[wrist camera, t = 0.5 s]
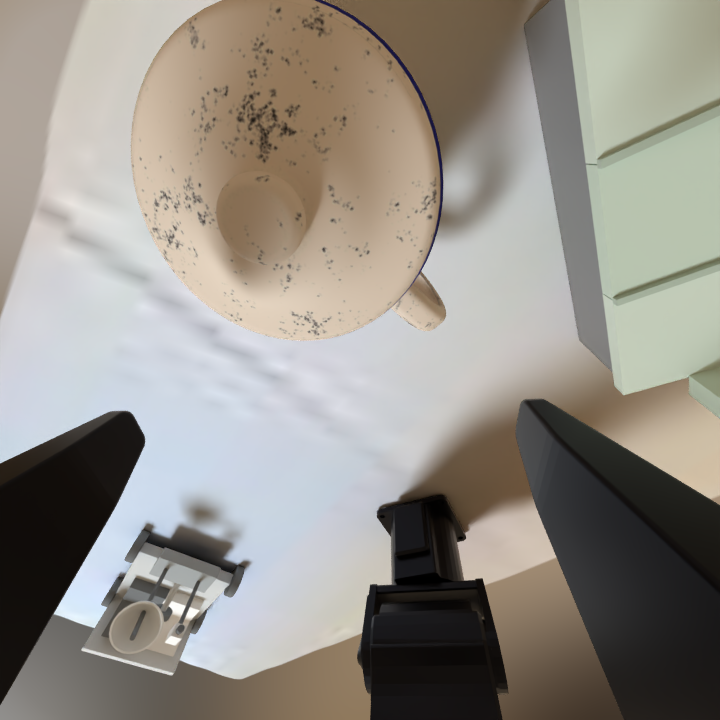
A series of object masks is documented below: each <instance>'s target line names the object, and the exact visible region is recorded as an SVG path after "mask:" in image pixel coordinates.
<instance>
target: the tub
mask: <svg viewBox="0 0 720 720" xmlns="http://www.w3.org/2000/svg"><path fill="white" fill-rule="evenodd" d="M524 29H525V34H526V40H527V46H528V51H529V57H530V63H531V68H532V74H533V80H534V85H535V91H536V97H537V102H538V108H539V114H540V119H541V125H542V131H543V136H544V142H545V148H546V153H547V159H548V165H549V170H550V176H551V182H552V187H553V193H554V199H555V204H556V210H557V216H558V222H559V227H560V233H561V239H562V244H563V250H564V256H565V261H566V267H567V273H568V278H569V284H570V290H571V295H572V301H573V307H574V312H575V318H576V324H577V329H578V335H579V340H580V341H581V342H582V343H583V344H584V345H585V346H586V347H587V348H588V349H589V350H590V351H591V352H592V353H593V354H594V355H595V356H596V357H597V358H598V359H599V360H600V361H601V362H602V363H603V364H604V365H605V366H607V367H608V368H609V369H610V370H611V371H612V363H611V356H610V348H609V340H608V332H607V325H606V317H605V309H604V301H603V293H602V286H601V278H600V270H599V263H598V255H597V247H596V239H595V232H594V224H593V216H592V208H591V201H590V193H589V185H588V177H587V170H586V164H588V163H586V162H585V154H584V146H583V139H582V131H581V123H580V115H579V108H578V100H577V92H576V84H575V77H574V69H573V61H572V53H571V46H570V38H569V30H568V22H567V15H566V7H565V0H550V1H549V2H548V3H547V4H546V5H545V6H544V7H543V8H542V9H541V10H539V11H538V12H537V13H536V14H535V15H534V16H533V17H532V18H531V19H530V20H529V21H527V22H526V23H525V24H524ZM612 372H613V371H612Z"/></svg>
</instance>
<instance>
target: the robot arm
mask: <svg viewBox="0 0 720 720" xmlns="http://www.w3.org/2000/svg"><path fill="white" fill-rule="evenodd" d="M516 439H517V443H518V446H519V450H520V453H521V457H522V460H523V464H524V467H525V471H526V474H527V478H528V481H529V485H530V488H531V492H532V495H533V499H534V502H535V505H536V508H537V510H538V513H539V515H540V518H541V520H542V523H543V525H544V528H545V530H546V533H547V535H548V537H549V540H550V542H551V545H552V547H553V549H554V552H555V554H556V557H557V559H558V561H559V564H560V566H561V569H562V571H563V574H564V576H565V578H566V581H567V583H568V586H569V588H570V590H571V593H572V595H573V598H574V600H575V603H576V605H577V607H578V610H579V612H580V615H581V617H582V620H583V622H584V624H585V627H586V629H587V632H588V634H589V637H590V639H591V641H592V644H593V646H594V649H595V651H596V653H597V656H598V658H599V661H600V663H601V666H602V668H603V670H604V672H605V675H606V677H607V680H608V682H609V685H610V687H611V690H612V692H613V695H614V697H615V699H616V702H617V704H618V707H619V709H620V711H621V714H622V716H623V719H624V720H720V505H719V504H717V503H716V502H714V501H712V500H711V499H709V498H707V497H706V496H704V495H702V494H701V493H699V492H697V491H696V490H694V489H692V488H691V487H689V486H687V485H686V484H684V483H682V482H681V481H679V480H677V479H676V478H674V477H672V476H671V475H669V474H667V473H666V472H664V471H662V470H661V469H659V468H657V467H656V466H654V465H653V464H651V463H649V462H648V461H646V460H644V459H643V458H641V457H639V456H638V455H636V454H634V453H633V452H631V451H629V450H628V449H626V448H624V447H623V446H621V445H619V444H618V443H616V442H614V441H613V440H611V439H609V438H608V437H606V436H604V435H603V434H601V433H599V432H598V431H596V430H594V429H593V428H591V427H589V426H588V425H586V424H584V423H583V422H581V421H579V420H578V419H576V418H574V417H573V416H571V415H569V414H568V413H566V412H565V411H563V410H561V409H560V408H558V407H556V406H555V405H553V404H551V403H550V402H548V401H546V400H544V399H525V400H523V401H522V402H521V404H520V409H519V414H518V419H517V425H516ZM144 446H145V436H144V434H143V432H142V430H141V428H140V427H139V425H138V423H137V421H136V419H135V417H134V416H133V414H132V413H130V412H128V411H112V412H108V413H106V414H104V415H102V416H100V417H97V418H95V419H93V420H91V421H89V422H87V423H85V424H83V425H81V426H78V427H76V428H74V429H72V430H70V431H68V432H66V433H64V434H62V435H59V436H57V437H55V438H53V439H51V440H49V441H47V442H45V443H43V444H40V445H38V446H36V447H34V448H32V449H30V450H28V451H26V452H24V453H21V454H19V455H17V456H15V457H13V458H11V459H9V460H7V461H5V462H3V463H0V705H1V703H2V701H3V700H4V698H5V696H6V695H7V693H8V691H9V689H10V688H11V686H12V684H13V682H14V681H15V679H16V677H17V676H18V674H19V672H20V670H21V669H22V667H23V665H24V664H25V662H26V660H27V658H28V657H29V655H30V653H31V651H32V650H33V648H34V646H35V645H36V643H37V641H38V640H39V638H40V636H41V634H42V632H43V631H44V629H45V628H46V626H47V624H48V622H49V621H50V619H51V617H52V616H53V614H54V612H55V610H56V609H57V607H58V605H59V603H60V602H61V600H62V598H63V597H64V595H65V593H66V591H67V590H68V588H69V586H70V585H71V583H72V581H73V579H74V578H75V576H76V574H77V573H78V571H79V569H80V567H81V566H82V564H83V562H84V561H85V559H86V557H87V555H88V554H89V552H90V550H91V549H92V547H93V545H94V543H95V542H96V540H97V538H98V537H99V535H100V533H101V531H102V530H103V528H104V526H105V525H106V523H107V521H108V519H109V518H110V516H111V514H112V512H113V511H114V509H115V507H116V505H117V503H118V501H119V499H120V497H121V495H122V493H123V491H124V489H125V486H126V484H127V482H128V480H129V478H130V476H131V474H132V472H133V469H134V467H135V465H136V463H137V461H138V459H139V457H140V454H141V452H142V450H143V448H144ZM377 518H378V519H379V521H380V522H381V523H382V525H383V526H384V528H385V529H386V531H387V532H388V533H389V535H390V536H391V567H392V585H377V584H372V585H370V590H369V595H368V596H367V602H366V610H365V617H364V625H363V632H362V638H361V642H360V646H359V650H358V655H357V659H358V663H359V665H360V666H361V667H362V669H363V674H364V681H365V687H366V690H367V692H368V693H369V694H371V715H370V720H502V715H501V710H500V705H499V700H498V695H497V694H499V695H500V694H503V695H505V694H507V695H508V694H509V693H508V686H507V680H506V674H505V669H504V664H503V659H502V655H501V650H500V646H499V641H498V637H497V633H496V629H495V625H494V622H493V617H492V614H491V610H490V606H489V602H488V598H487V594H486V590H485V586H484V582H483V578H480V579H475V580H469V581H464V577H463V572H462V566H461V561H460V556H459V550H458V545H457V542H460V541H464V540H465V539H466V535H465V532H464V530H463V528H462V526H461V524H460V522H459V521H458V519H457V517H456V515H455V513H454V511H453V509H452V507H451V505H450V503H449V502H448V500H447V498H446V497H445V496H444V495H438V496H434V497H429V498H425V499H421V500H417V501H413V502H409V503H404V504H400V505H396V506H392V507H388V508H383V509H380V510H378V511H377Z"/></svg>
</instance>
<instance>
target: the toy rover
mask: <svg viewBox="0 0 720 720" xmlns="http://www.w3.org/2000/svg"><path fill="white" fill-rule="evenodd" d="M149 535H150V532H148V531H145V530H142V532H141V533H140V535H139V536H138V538H137V539H136V541H135V542H134V544H133V546H132V547H131V549H130V550H129V552H128V554H127V556H126V557H125V561H127V562H130V563H132V565H131V567H130V569H129V570H128V572H127V574H126V576H125V578H124V579H122V578H119V577H118V578H117V579H116V581H115V582H114V584H113V585H112V587H111V589H110V590H109V592H108V593H107V595H106V597H105V598H104V600H103V602H102V604H101V605H102V606H105V607H107V609H106V611H105V612H104V614H103V615H102V617H101V619H100V620H99V622H98V624H97V625H96V627H95V629H94V630H93V632H92V634H91V635H90V637H89V639H88V640H87V642H86V643H85V645H84V647H83V648H82V651H85V652H88V653H92V654H96V655H100V656H103V657H106V658H110V659H114V660H117V661H121V662H125V663H128V664H132V665H135V666H139V667H143V668H146V669H150V670H154V671H157V672H161V673H164V674H168V675H173V674H174V672H175V670H176V667H177V665H178V662H179V660H180V657H181V655H182V652H183V650H184V647H185V645H186V643H187V640H188V638H189V635H190V633H192V634H196V633H197V632H198V630H199V628H200V627H201V625H202V622H203V620H204V618H205V615H206V613H207V609H208V607H209V606H210V605H211V604H212V603H213V602H214V600H215V599H216V598H217V597H218V596H219V595H220V594H221V593H222V592H223V591H224V595H225V596H228V597H233V596H234V594H235V593H236V591H237V589H238V587H239V585H240V583H241V580H242V577H243V574H244V567H241V566H237V567H236V569H235V570H233V571H232V573H228V572H226V571H223V570H221V568H220V567H217V566H214V565H212V564H209V563H206V562H204V561H201V560H198V559H195V558H193V557H190V556H187V555H185V554H182V553H179V552H176V551H174V550H171V549H168V548H166V547H165V548H164V549H163V548H160V547H157V546H155V545H152V544H149V543H146V541H147V539H148V537H149Z"/></svg>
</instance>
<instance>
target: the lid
mask: <svg viewBox="0 0 720 720" xmlns="http://www.w3.org/2000/svg"><path fill="white" fill-rule="evenodd" d="M565 7H566V15H567V22H568V30H569V38H570V46H571V53H572V61H573V69H574V77H575V84H576V92H577V100H578V108H579V115H580V123H581V131H582V139H583V146H584V154H585V162H586V163H588V164H586V170H587V177H588V185H589V193H590V201H591V208H592V216H593V224H594V232H595V239H596V247H597V255H598V263H599V270H600V278H601V286H602V293H603V301H604V309H605V317H606V325H607V332H608V340H609V348H610V356H611V363H612V371H613V379H614V386H615V387H616V388H617V389H618V390H619V391H620V392H621V393H622V394H623V395H627V394H631V393H634V392H638V391H641V390H645V389H648V388H652V387H656V386H659V385H663V384H666V383H670V382H673V381H677V380H681V379H684V378H688V377H689V395H691V396H692V397H693V398H694V399H696V400H697V401H698V402H699V403H701V404H702V405H703V406H704V407H706V408H707V409H708V410H709V411H711V412H712V413H713V414H714V415H716V416H717V417H718V418H719V419H720V0H565Z"/></svg>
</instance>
